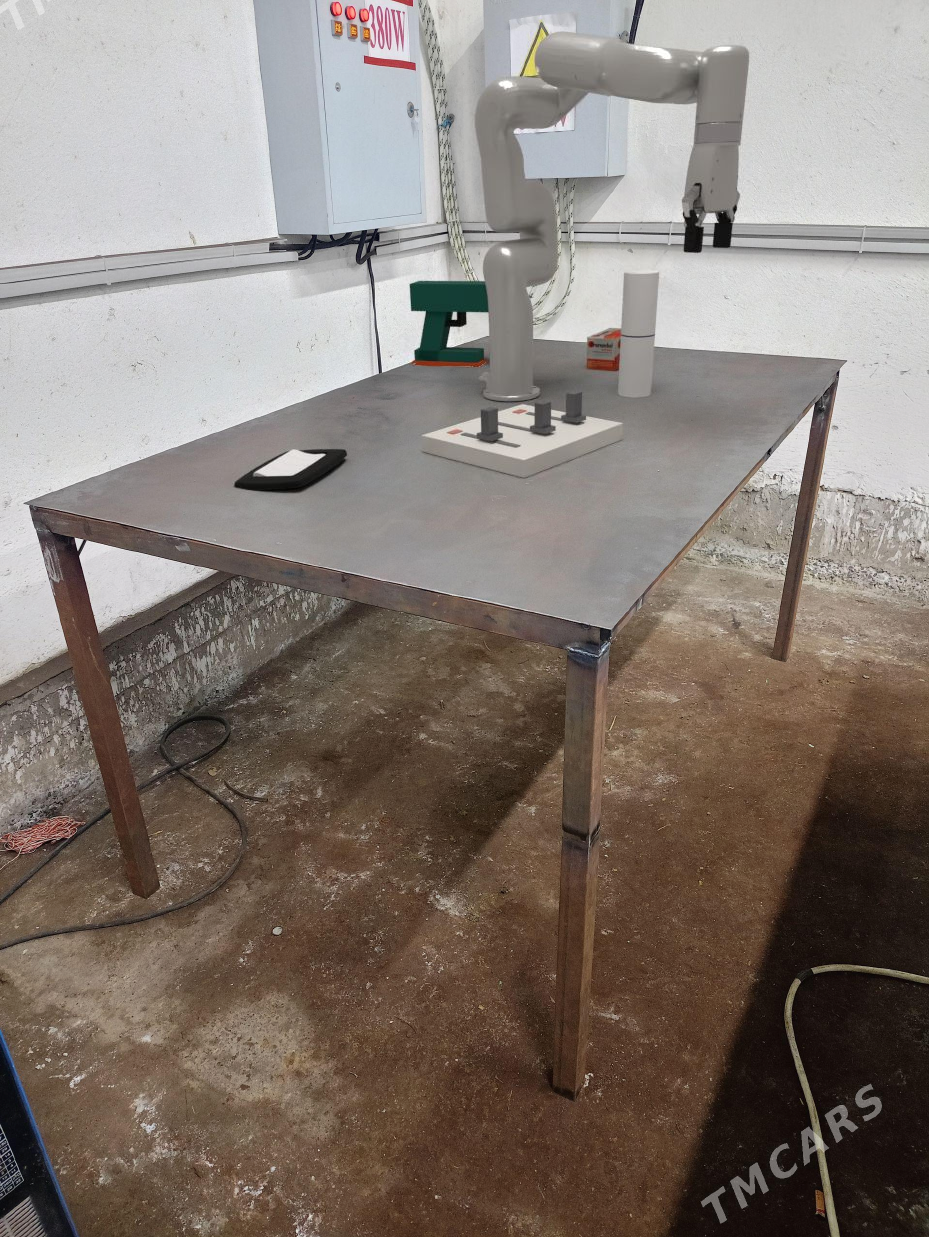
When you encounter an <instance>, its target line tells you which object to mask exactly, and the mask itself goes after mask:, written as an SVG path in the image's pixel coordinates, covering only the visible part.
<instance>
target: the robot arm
mask: <svg viewBox="0 0 929 1237" xmlns="http://www.w3.org/2000/svg"><path fill="white" fill-rule="evenodd" d="M749 67H750V51H749V49H748V48H747V47H746V46H744V45H740V44H739V45H738V44H729V45H717V46H713V47H709V48H707V49H705V50H704V51H695V50H687V49H680V48H672V47H671V48H670V47H659V46H651V45H649V46H648V45H642V44H641V45H640V44H633V43H625V42H624V41H623V40H622V39H621V38H618V37H612V36H603V35H594V34H587V33H579V32H571V31H555V32H552V33H549V34H548V35H547V36H545V37H544V38H542V39H541V41H540V42H539V44H538V46H537V48H536V50H535V52H534V68H535V70H536V73H537V75H538V77H529V76H518V75H517V76H516V75H515V76H513V75H511V76H510V75H509V76H504V77H501V78H500V77H499V78H497V79H495V80H493V81H492V82H490V83H489V84H488V85H487V86H486V87H484V89H483V91H482V92H481V94H480V95H479V99H478V100H477V103H476V106H475V111H474V112H475V113H474V128H475V135H476V141H477V144H478V145H477V146H478V150H479V156H480V163H481V164H480V165H481V177H482V178H481V180H482V191H483V202H484V213H485V219H486V222H487V224H488V226H489V228H490V229H491V230H492V231H493V232H496V233H499V234H512V233H519V238H518V239H509V240H504V241H500V242H498V243H495V244H493V245H492V246H491V247H490V248H489V249H488V250H487V251H486V253H485V255H484V257H483V261H482V273H483V278H484V279H483V281H485V285H486V290H487V297H488V312H487V314H488V341H489V342H488V343H489V344H488V345H489V346H488V348H489V350H488V352H489V372H487V371H483V372H482V373H481V375H480V376H479V377H478V382H480V383H486V387H485V388H484V389H483V391H482V395H483V397H484V398H486V399H487V400H492V401H496V402H497V401H499V402H522V401H528V400H532V399H535V398H538V397H539V396H540V395H541V389H540V387H538V386H536V385H534V309H533V304H532V301H531V298H530V297H529V296H530V295H529V292H528V289H527V288H529V287H534V286H535V287H536V286H541V285H544V284H547V283H549V281H551V280H552V279H553V277H554V276H555V274H556V272H557V268H558V262H559V261H558V260H559V251H558V250H559V249H558V248H559V247H558V246H559V245H558V232H557V231H558V230H557V228H558V227H557V212H556V205H555V200H554V198H553V194H552V193H551V190H550V189H549V188H548V187H547V186H546V185H545V184H544V183H543V182H541V181H538V180H530V179H529V180H528V179H527V180H526V175H525V174H526V173H525V164H524V162H525V160H524V154H523V150H522V148H521V145H520V142H519V140H518V138H517V137H516V135H515V130H517V129H530V130H531V129H532V130H533V129H536V130H537V129H540V130H542V129H547V128H548V129H549V128H551V127H554V126H555V125H557V124H558V123H559V122H560V121H562V120H563V119H564V118H565V117H566V116H567V115H568V114H569V113H570V112H571V111H572V110H573V109H574V108H575V107H576V106H578V104H579V103H580V102H581V101H582V100H583V99H585V98H586V96H588V94H595V95H600V96H604V97H605V96H606V97H611V96H612V97H617V98H621V99H622V98H623V99H627V100H634V101H640V102H646V103H652V104H672V105H673V104H674V105H692V104H696V105H695V106H696V108H695V117H694V118H695V122H694V131H693V132H694V133H693V145H692V146H693V147H692V148H691V152H690V156H689V160H688V166H687V171H686V178H685V185H684V194H683V196H682V199H681V206H682V217H683V220H684V221H683V226H684V237H683V238H684V239H683V240H684V241H683V252H684V253H689V254H690V253H691V254H692V253H694V254H699V253H702V251H703V242H704V240H703V239H704V231H705V227H704V226H702V225H703V223H704V221H705V219H706V217H707V214H715V218H716V222H714V227H713V237H712V238H713V240H712V247H713V248H715V249H716V248H717V249H718V248H719V249H729V248H730V247H731V244H732V243H731V242H732V235H733V228H734V227H733V225H734V222H735V219H736V215H735V214H736V213H737V210H738V205H739V200H740V199H741V193H740V191H738V183H739V182H738V181H739V162H740V161H739V160H740V158H739V156H740V154H739V153H740V152H739V147H740V146H741V144H742V135H743V134H742V132H743V124H744V123H743V122H744V113H745V104H746V96H747V84H748V75H749Z"/></svg>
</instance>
